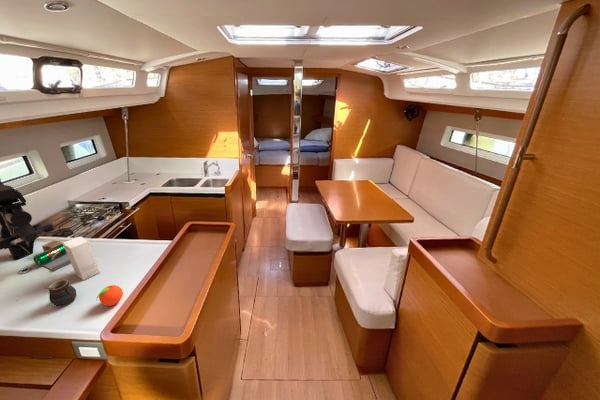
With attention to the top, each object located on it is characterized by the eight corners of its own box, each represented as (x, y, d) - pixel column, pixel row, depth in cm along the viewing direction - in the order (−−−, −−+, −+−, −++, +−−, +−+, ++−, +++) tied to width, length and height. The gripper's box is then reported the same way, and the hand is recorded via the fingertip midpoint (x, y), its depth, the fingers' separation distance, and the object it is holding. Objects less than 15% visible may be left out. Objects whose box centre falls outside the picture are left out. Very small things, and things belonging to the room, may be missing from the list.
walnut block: (45, 255, 125) (41, 246, 123) (56, 249, 129) (52, 240, 127) (54, 256, 124) (50, 247, 122) (65, 250, 128) (61, 241, 126)
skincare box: (100, 273, 111) (89, 241, 106) (82, 281, 106) (69, 248, 100) (92, 266, 116) (81, 235, 110) (74, 274, 111) (61, 242, 105)
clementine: (105, 314, 90) (99, 298, 87) (95, 307, 93) (88, 291, 91) (129, 300, 97) (124, 284, 94) (118, 293, 100) (113, 278, 97)
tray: (37, 263, 118) (36, 260, 118) (70, 248, 129) (69, 245, 129) (54, 271, 113) (52, 268, 112) (87, 255, 124) (86, 252, 123)
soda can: (32, 261, 116) (62, 247, 126) (41, 268, 116) (70, 253, 126) (32, 254, 114) (62, 240, 124) (41, 261, 113) (71, 246, 124)
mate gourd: (83, 294, 99) (74, 273, 95) (67, 310, 92) (57, 287, 88) (64, 294, 99) (55, 273, 95) (47, 310, 92) (35, 287, 88)
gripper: (-8, 234, 94) (10, 270, 99) (55, 213, 109) (67, 246, 115) (-22, 228, 98) (-4, 263, 104) (40, 209, 114) (53, 241, 119)
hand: (31, 253), depth 110 cm, fingers closed
